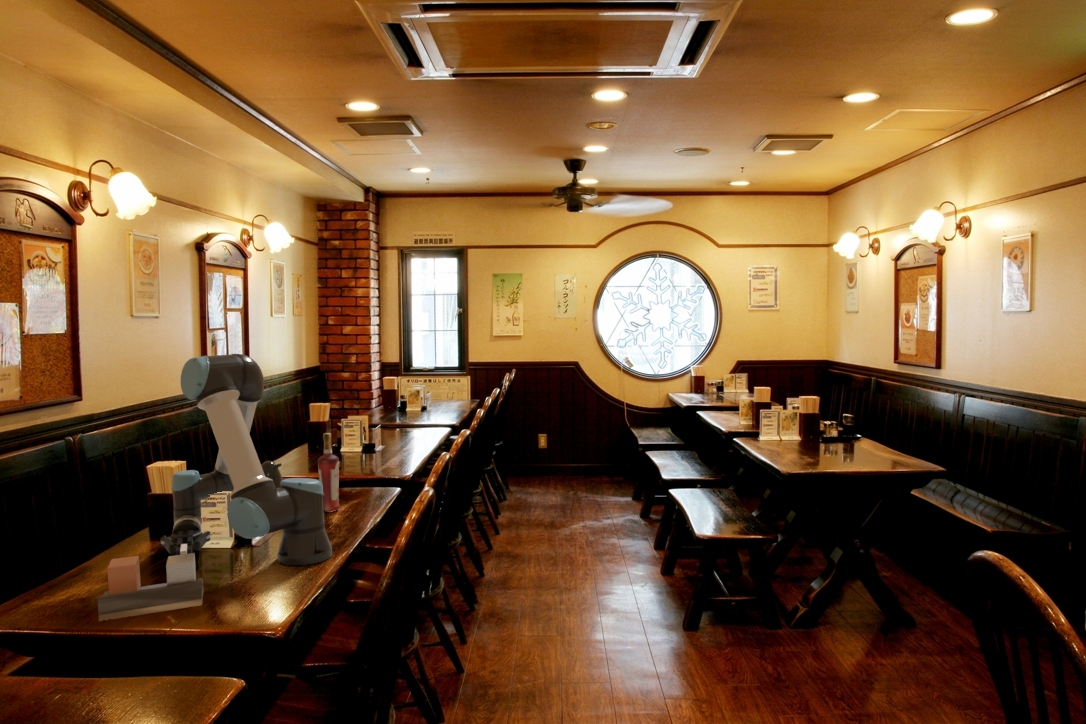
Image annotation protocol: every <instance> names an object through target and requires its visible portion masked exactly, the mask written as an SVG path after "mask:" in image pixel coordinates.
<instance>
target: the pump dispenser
mask: <svg viewBox="0 0 1086 724" xmlns="http://www.w3.org/2000/svg"><path fill="white" fill-rule="evenodd" d="M281 466H282V463H281V462H280V463H277V464H276V462H274V461H271V460H266V461H264V462H263V463H262V464H261V467H262V469H263V472H264V475H265V476H266V477H267V478H270V479H272V480H273V482H274V484H275V487H276V488H279V487H281V486H280V483H281V481H282V480H283V477H282V473H281V471H280V469H279V468H280V467H281Z"/></svg>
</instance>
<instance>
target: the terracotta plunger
mask: <svg viewBox="0 0 1086 724" xmlns="http://www.w3.org/2000/svg"><path fill="white" fill-rule="evenodd" d="M140 568H141V567H140V556H139V555H136V556H135V555H134V556H126V557H119V558H112V559H111V560H110V562H109V563H108V566H107V568H106V569H107V579H108V580H107V581H108V583H107V584H108V591H109V595H111V594H118V593H125V592H131V591H138V590H140V588H141V587H142V584H141V571H140Z"/></svg>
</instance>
